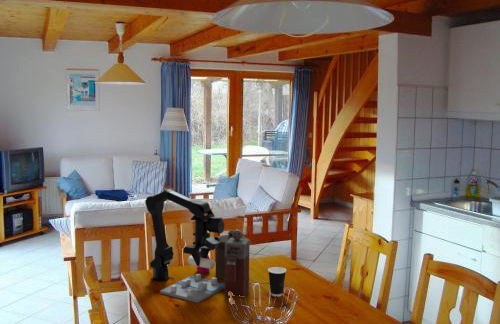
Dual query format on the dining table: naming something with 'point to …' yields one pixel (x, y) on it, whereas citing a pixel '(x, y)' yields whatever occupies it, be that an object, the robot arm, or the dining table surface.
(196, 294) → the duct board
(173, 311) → the dining table surface
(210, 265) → the white cylinder
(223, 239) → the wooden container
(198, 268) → the pepper mill
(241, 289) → the dark jug
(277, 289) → the dixie cup
